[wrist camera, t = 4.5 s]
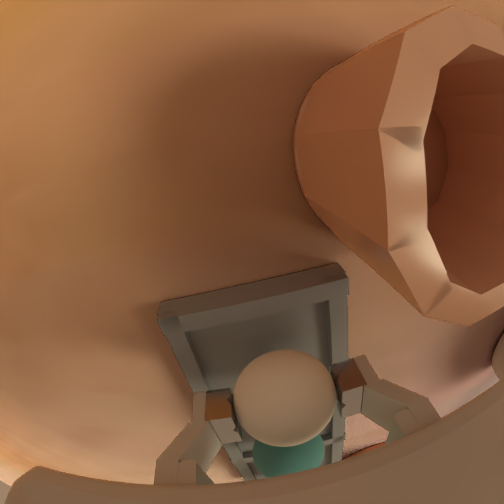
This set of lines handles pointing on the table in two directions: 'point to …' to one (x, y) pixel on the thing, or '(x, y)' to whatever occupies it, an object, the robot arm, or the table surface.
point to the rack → (261, 338)
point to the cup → (499, 358)
